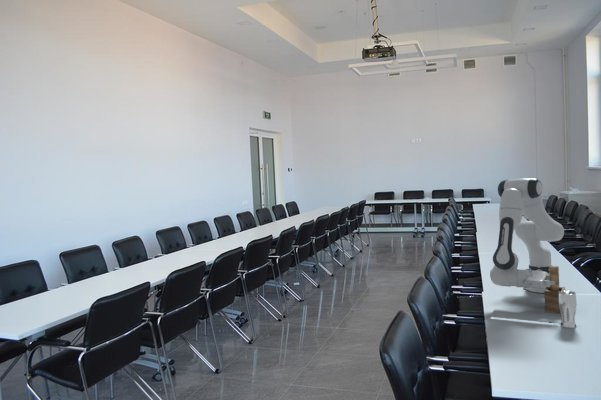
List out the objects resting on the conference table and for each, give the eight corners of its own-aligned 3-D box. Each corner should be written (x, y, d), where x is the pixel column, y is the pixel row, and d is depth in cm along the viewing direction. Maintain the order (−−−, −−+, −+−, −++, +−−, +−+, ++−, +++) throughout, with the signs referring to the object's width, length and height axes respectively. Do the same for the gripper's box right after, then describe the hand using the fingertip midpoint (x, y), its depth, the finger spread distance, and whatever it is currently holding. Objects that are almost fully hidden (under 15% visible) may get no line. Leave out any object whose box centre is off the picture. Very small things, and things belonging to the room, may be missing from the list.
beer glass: (575, 323, 219) (573, 290, 218) (579, 328, 212) (578, 294, 211) (557, 323, 221) (556, 290, 220) (561, 328, 214) (560, 294, 213)
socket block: (547, 305, 243) (546, 286, 242) (565, 307, 239) (565, 287, 238) (545, 311, 235) (544, 291, 234) (563, 313, 230) (563, 292, 230)
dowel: (550, 297, 239) (549, 265, 238) (559, 298, 237) (558, 265, 236) (550, 300, 236) (548, 267, 235) (559, 300, 234) (558, 267, 233)
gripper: (521, 277, 234) (553, 278, 227) (527, 268, 251) (558, 269, 244) (521, 290, 234) (554, 292, 227) (528, 280, 252) (558, 282, 244)
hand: (556, 280), depth 235 cm, fingers open, 8 cm apart
